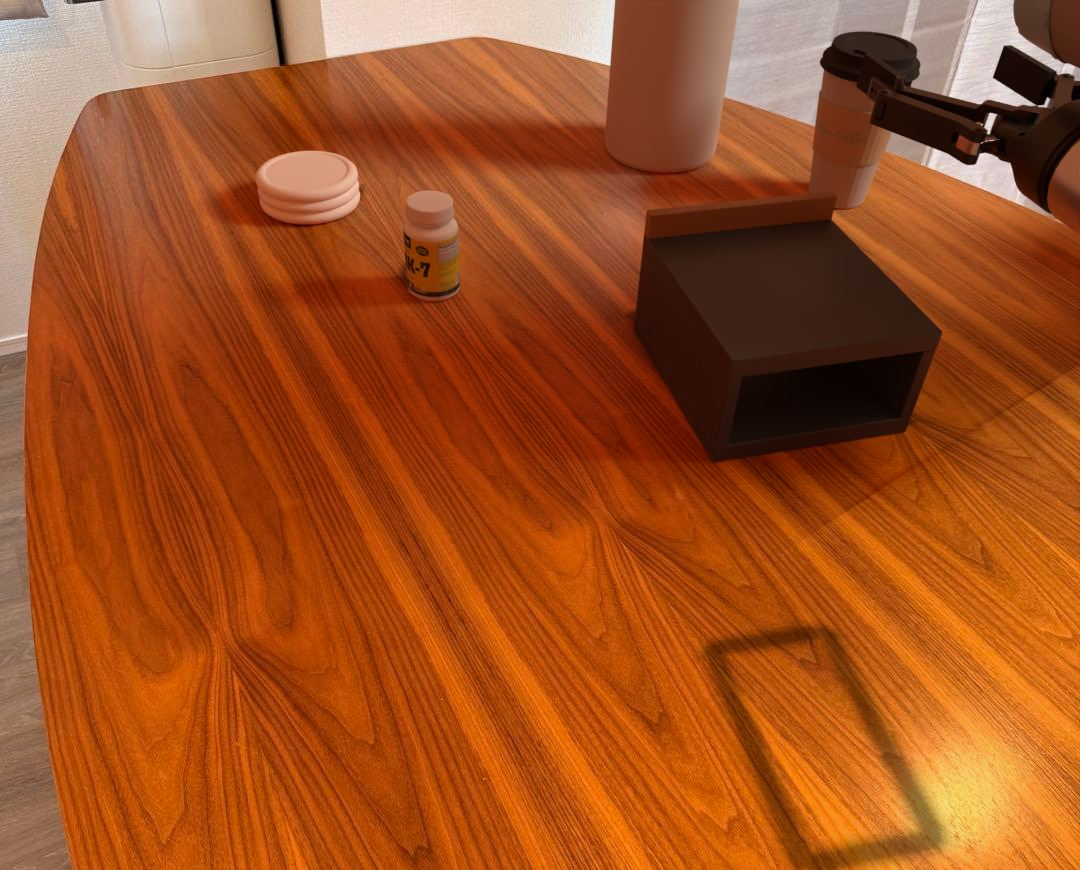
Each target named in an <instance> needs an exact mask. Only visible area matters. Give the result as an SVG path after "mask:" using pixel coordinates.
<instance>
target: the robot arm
mask: <svg viewBox="0 0 1080 870" xmlns="http://www.w3.org/2000/svg"><path fill="white" fill-rule="evenodd" d="M1012 10H1013V12H1012V14H1013V20H1014V23H1015V26H1016V27H1017V29H1018V32H1017V33H1018V34H1019V35H1021V36H1022V38H1024V39H1025V40H1026V41H1028V42H1029V43H1030V44H1032V45H1034V46H1036V47H1037V48H1038V49H1041V50H1042V51H1044V52H1046V53H1047V54H1049V55H1050V56H1051V57H1052V58H1053V59H1054V60H1057V61H1059V62H1060V63H1061V64H1064V65H1065V64H1068V65H1071V66H1073V67H1076V68H1078V69H1080V0H1013V6H1012ZM992 78H993V80H995V81H996V82H999V83H1000V84H1001V85H1003V86H1005V87H1006V88H1008V89H1009V90H1011V91H1013V92H1014V93H1016V94H1017V95H1019V96H1020V97H1022V98H1024V99H1025V100H1027V101H1029V102H1030V103H1032V104H1033V105H1027V104H1021V105H1013V104H1008V103H1005V102H1001V101H996V100H993V99H986V100H984V101H983V102H981V103H976V102H972V101H968V100H964V99H959V98H956V97H952V96H948V95H945V94H940V93H936V92H932V91H928V90H925V89H920V88H917V87H912V83H913V81H911V80H910V79H908V78H907V75H903V74H901V73H900V72H898V71H897V70H896V69H894V68H893V67H891V66H890V65H888V64H887V63H886V62H884V61H883V60H881V59H880V58H879V57H877V56H876V55H874V54H873V53H868V54H864V58H863V62H862V66H861V70H860V74H859V78H858V81H857V85H856V87H857V88H858V89H860V90H861V91H862V92H864V93H865V94H866V95H867V96H868V97H869V98H870V99H872V101H874V102H875V103H874V106H873V110H872V114H871V118H870V121H869V122H870V124H872V125H875V126H877V127H880V128H883V129H885V130H888V131H890V132H892V134H896V135H898V136H901V137H904V138H906V139H908V140H911V141H914V142H916V143H918V144H921V145H924V146H927V147H929V148H931V149H935V150H936V151H940V152H942V153H945V154H947V155H948V156H950V157H952V158H953V159H954V160H956V161H958V162H960V163H961V164H962V165H963V164H964V165H966V166H975V165H977V163H978V160H979V157H980V154H989V155H992V156H994V157H995V158H997V159H998V160H999V161H1001V162H1004V163H1008V164H1010V168H1011V170H1012V175H1013V179H1014V183H1015V186H1016V188H1017V189H1018V191H1019V192H1020V193H1021V194H1022V195H1023V196H1024V197H1026V199H1028V200H1029V201H1031V202H1032V203H1033V204H1034V205H1036V206H1037V207H1039V208H1040V209H1042V210H1043V211H1044V212H1046V213H1047V214H1049V215H1052V216H1053V217H1054V218H1055V219H1056V220H1058V221H1059V222H1060V223H1062V225H1065V226H1066V227H1067V228H1068V229H1070V230H1071V231H1072V232H1074V233H1075V234H1077V235H1078V236H1079V237H1080V80H1075V79H1076V77H1075V76H1074V75H1073V74H1071V73H1068V72H1065V73H1060V74H1059V73H1058V71H1057V70H1055V69H1053V68H1051V67H1050V66H1048V65H1047V64H1045V63H1043V62H1041V61H1040V60H1038V59H1036V58H1034V57H1033V56H1031V55H1029V54H1028V53H1026V52H1024V51H1023V50H1021V49H1019V48H1017V47H1015V46H1014V45H1012V44H1007V45H1003V47H1002V50H1001V53H1000V56H999V57H998V61H997V64H996V67H995V69H994V72H993V76H992ZM1047 99H1049V100H1048V103H1047V106H1046V107H1045V104H1046V101H1047ZM990 114H993V115H995V117H994V120H993V123H992V125H991V128H990V130H989V129H987V128H986V125H987V121H988V118H989V116H990ZM988 131H989V133H988Z"/></svg>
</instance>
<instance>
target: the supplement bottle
mask: <svg viewBox="0 0 1080 870" xmlns="http://www.w3.org/2000/svg"><path fill="white" fill-rule="evenodd" d="M405 216H406V218H405V220H404V221H403V222H404V223H403V226H402V227H403V228H402V231H403V245H404V260H405V270H406V271H405V273H406V284H407V290H408V293H410V295H412V296H413V297H415V298H417V299H419V300H422V301H425V302H442V301H445V300H448V299H451V298H453V297H454V296H456V295H457V294H458V292H459V291H460V289H461V264H460V263H461V262H460V235H459V234H460V233H459V232H460V231H459V224H458V222H457V220H456V219H455V217H454V216H455V210H454V200H453V198H452V197H451V195H449V194H448V193H445V192H443V191H441V190H440V191H438V190H432V189H431V190H419V191H415V192H413V193H411V194H410V195H408V196H407V197H406V199H405Z"/></svg>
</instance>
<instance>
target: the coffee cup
mask: <svg viewBox="0 0 1080 870" xmlns="http://www.w3.org/2000/svg"><path fill="white" fill-rule="evenodd" d="M868 53H873V54H874V55H876V56H877V57H879V58H880V59H881V60H883V61H884V62H886V63H887V64H888V65H890V66H891V67H893V68H894V69H896V70H897V71H898V72H900V73H901V74H903V75H907V78H908V79H910V80H911V81H912V82H913V81H915V80H917V79H918V78H919V77H920V75H921V70H920V69H921V66H922V65H921V61H920V60H919V58H918V48H917V46H916V45H915V44H914V43H913V42H911V41H909V40H907V39H905V38H903V37H900V36H897V35H893V34H889V33H885V32H878V31H862V30H861V31H859V30H858V31H849V32H848V31H847V32H844V33H840V34H838V35H836V36H835V37H834V38H833V39H832V42H831V45H829V46H828V47H826V48H825V49H824V50H823V52H822V57H821V58H820V60H819V65H820V68H822V69H823V72H822V81H821V89H820V90H819V91H818V92H819V93H818V99H817V107H816V117H815V125H814V132H813V140H812V151H813V152H812V159H811V160H812V161H811V168H810V177H809V184H808V185H809V186H808V194H809V193H819V192H828V191H832V192H833V193H834V194H835V195H836V196H837V199H836V203H835V207H834V209H839V210H849V209H850V210H851V209H855V208H858V207H860V206H861V205H862V204H863V203H864V202H865V200H866V197H867V195H868V192H869V190H870V187H871V185H872V182H873V179H874V177H875V174H876V172H877V169H878V166H879V164H880V161H881V160H882V159H883V157H884V155H885V152H886V150H887V148H888V145H889V143H890V140H891V137H892V134H893V132H890V131H888V130H885V129H883V128H880V127H877V126H875V125H872V124H870V122H869V121H870V118H871V114H872V110H873V106H874V103H875V102H874V101H872V99H870V98H869V97H868V96H867V95H866V94H865V93H864V92H862V91H861V90H860V89H858V88H857V87H856V85H857V81H858V78H859V74H860V70H861V66H862V62H863V58H864V54H868Z"/></svg>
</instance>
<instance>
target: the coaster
mask: <svg viewBox="0 0 1080 870" xmlns="http://www.w3.org/2000/svg"><path fill="white" fill-rule="evenodd" d="M358 178H359V172H358V169H357V167H356V165H355V164H354V162H352V161H351V160H349V159H348V158H347V157H345V156H343V155H341V154H339V153H334V152H331V151H330V152H329V151H323V150H297V151H292V152H286V153H283V154H279V155H277V156H273V157H271V158H270V159H268V160H266V161H264V162H263V164H261V166H260V167H258V169H257V171H256V173H255V179H254V181H255V183H256V186H257V195H258V197H259V205H260V207H261V209H262V211H263V212H264V213H265V214H266V215H267V216H269V217H271V218H272V219H274V220H277V221H279V222H282V223H287V224H291V225H305V226H306V225H321V224H325V223H330V222H334V221H338V220H341V219H343V218H344V217H346V216H348V215H350V214H351V213H352V212H353V211H354V210H355V209H356V208H357V207H358V205H359V204H360V200H361V191H360V183H359V179H358Z"/></svg>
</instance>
